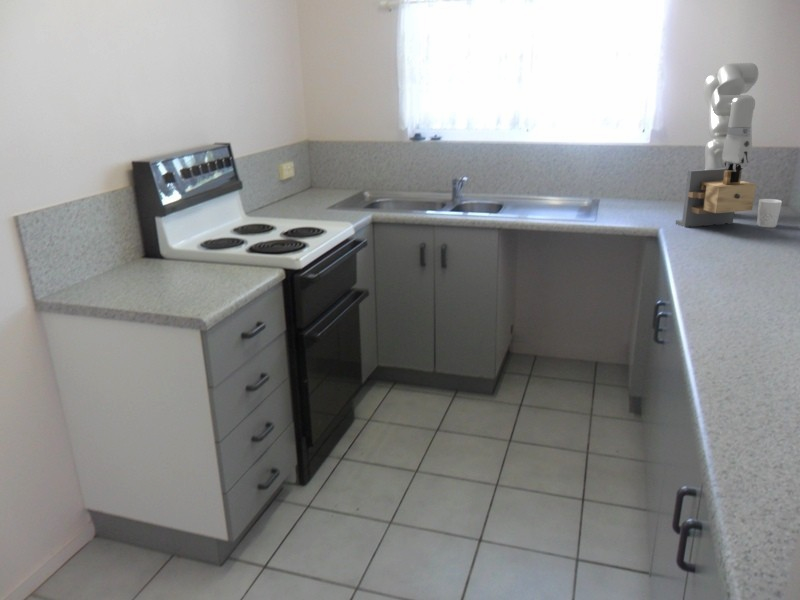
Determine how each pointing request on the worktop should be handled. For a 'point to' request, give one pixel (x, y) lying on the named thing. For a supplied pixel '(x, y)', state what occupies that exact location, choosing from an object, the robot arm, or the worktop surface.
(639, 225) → the worktop surface
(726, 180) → the wooden box
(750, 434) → the worktop surface
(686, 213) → the wall board
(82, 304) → the worktop surface
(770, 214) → the white cup
